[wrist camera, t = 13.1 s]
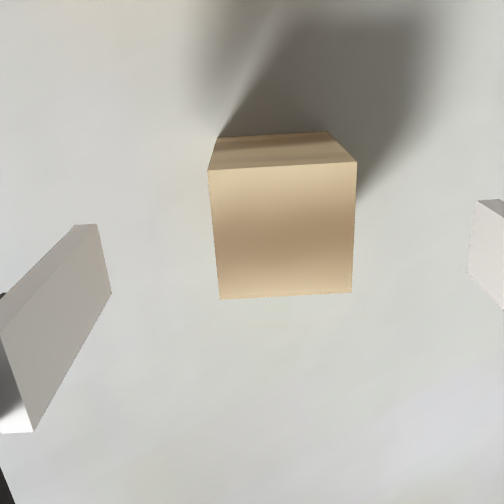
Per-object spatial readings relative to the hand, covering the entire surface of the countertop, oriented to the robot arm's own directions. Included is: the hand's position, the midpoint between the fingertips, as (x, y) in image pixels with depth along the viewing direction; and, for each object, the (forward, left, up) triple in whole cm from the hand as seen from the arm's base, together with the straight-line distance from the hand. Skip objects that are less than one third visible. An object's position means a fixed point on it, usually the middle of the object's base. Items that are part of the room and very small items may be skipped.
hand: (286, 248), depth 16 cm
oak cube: (0, 0, -6) cm, 6 cm away
